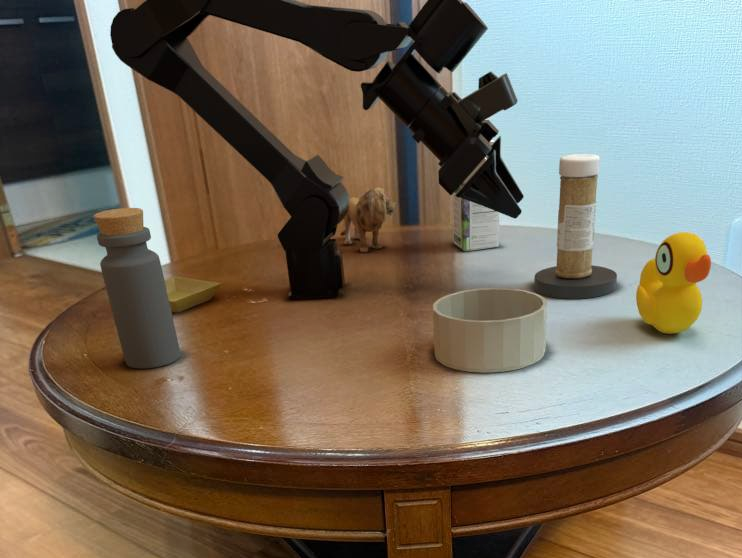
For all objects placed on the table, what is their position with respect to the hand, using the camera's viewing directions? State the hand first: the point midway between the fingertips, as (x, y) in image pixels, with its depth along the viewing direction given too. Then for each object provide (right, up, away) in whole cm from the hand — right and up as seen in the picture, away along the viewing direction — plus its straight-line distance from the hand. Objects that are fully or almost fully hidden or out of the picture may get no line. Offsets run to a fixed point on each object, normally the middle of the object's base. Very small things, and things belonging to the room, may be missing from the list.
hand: (520, 207), depth 96 cm
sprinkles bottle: (+7, -7, +3) cm, 11 cm away
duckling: (+14, -18, -11) cm, 25 cm away
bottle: (-41, -20, -9) cm, 47 cm away
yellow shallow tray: (-43, -9, +9) cm, 45 cm away
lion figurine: (-20, +6, +30) cm, 37 cm away
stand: (+7, -8, +4) cm, 12 cm away
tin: (-5, -21, -14) cm, 25 cm away
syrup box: (-3, +5, +26) cm, 26 cm away
